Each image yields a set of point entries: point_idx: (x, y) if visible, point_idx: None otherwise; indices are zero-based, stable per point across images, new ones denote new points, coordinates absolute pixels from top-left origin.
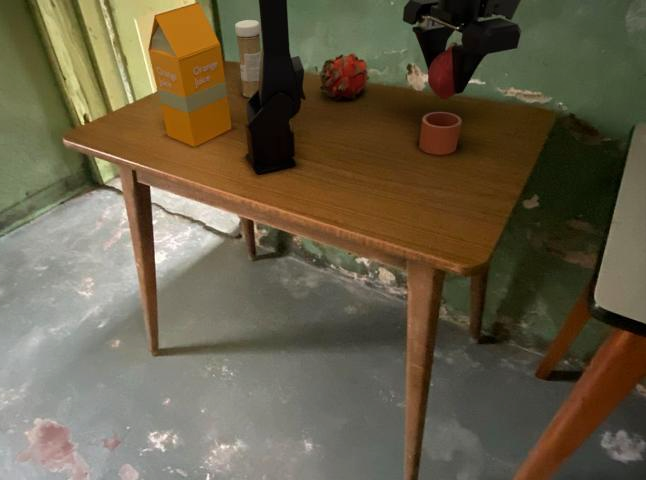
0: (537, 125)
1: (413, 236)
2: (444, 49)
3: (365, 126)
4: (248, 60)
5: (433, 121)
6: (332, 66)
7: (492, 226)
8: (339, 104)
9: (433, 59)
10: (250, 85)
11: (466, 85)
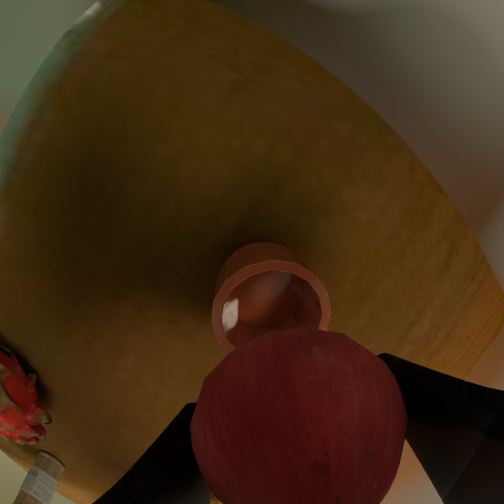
0: (207, 15)
1: (463, 367)
2: (157, 497)
3: (139, 393)
4: (48, 500)
5: (223, 314)
6: (21, 442)
7: (489, 277)
8: (53, 395)
9: (198, 492)
10: (58, 478)
11: (408, 362)
